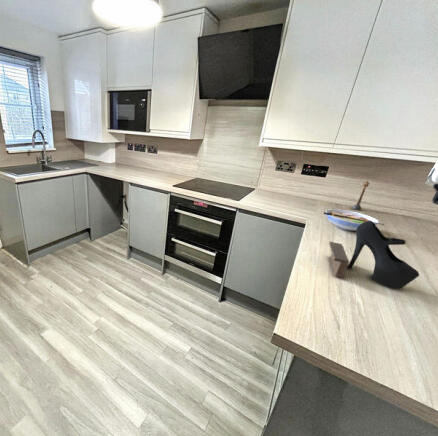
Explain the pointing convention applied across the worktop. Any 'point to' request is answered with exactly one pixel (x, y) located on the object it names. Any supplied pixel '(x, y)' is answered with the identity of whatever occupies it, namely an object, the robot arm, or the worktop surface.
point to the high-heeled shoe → (383, 257)
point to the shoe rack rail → (338, 259)
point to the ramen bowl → (348, 219)
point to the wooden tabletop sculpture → (357, 206)
